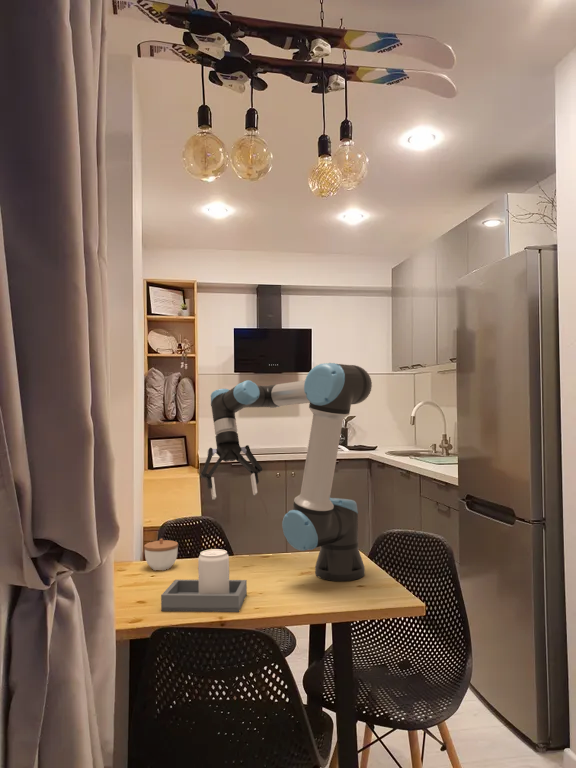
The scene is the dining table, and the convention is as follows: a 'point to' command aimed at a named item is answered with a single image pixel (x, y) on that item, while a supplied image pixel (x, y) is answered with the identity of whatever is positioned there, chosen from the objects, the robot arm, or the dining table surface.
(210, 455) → the robot arm
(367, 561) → the dining table surface
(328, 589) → the dining table surface
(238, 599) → the parts tray
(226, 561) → the beverage can
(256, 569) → the dining table surface
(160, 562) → the lidded jar
